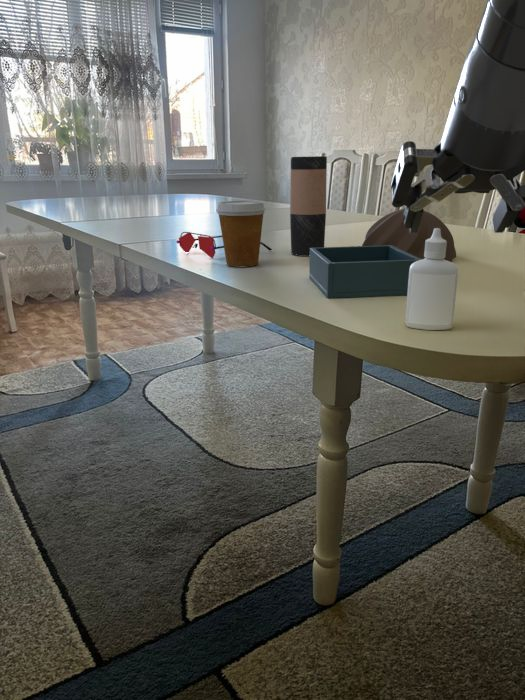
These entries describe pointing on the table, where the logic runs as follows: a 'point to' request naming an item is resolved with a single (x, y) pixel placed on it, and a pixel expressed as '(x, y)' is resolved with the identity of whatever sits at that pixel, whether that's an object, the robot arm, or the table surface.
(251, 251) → the disposable coffee cup
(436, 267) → the eye dropper bottle
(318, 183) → the travel mug
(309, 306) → the table surface
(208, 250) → the glasses
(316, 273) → the bin
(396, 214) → the decorative dome
